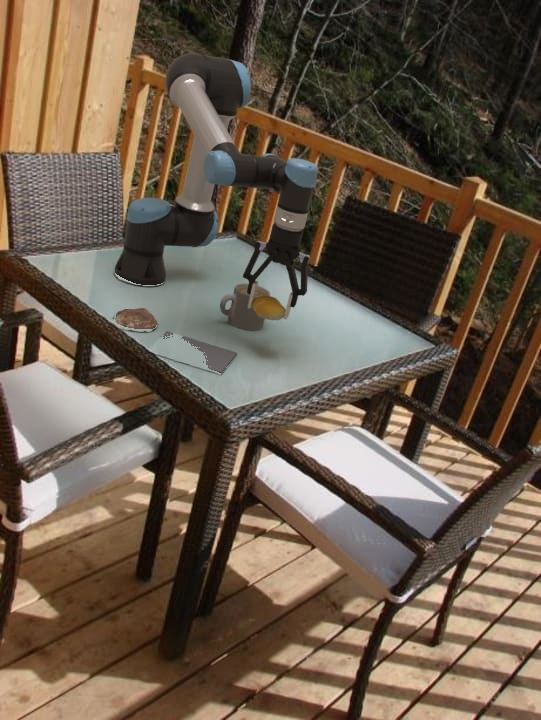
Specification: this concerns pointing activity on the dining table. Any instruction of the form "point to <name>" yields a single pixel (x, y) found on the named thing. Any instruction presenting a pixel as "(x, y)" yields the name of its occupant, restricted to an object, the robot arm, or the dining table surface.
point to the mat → (211, 353)
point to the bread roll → (268, 308)
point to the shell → (136, 318)
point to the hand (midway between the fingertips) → (268, 311)
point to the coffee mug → (243, 308)
